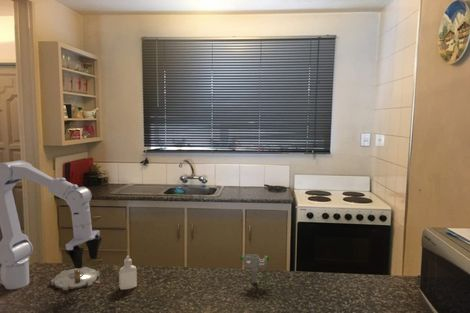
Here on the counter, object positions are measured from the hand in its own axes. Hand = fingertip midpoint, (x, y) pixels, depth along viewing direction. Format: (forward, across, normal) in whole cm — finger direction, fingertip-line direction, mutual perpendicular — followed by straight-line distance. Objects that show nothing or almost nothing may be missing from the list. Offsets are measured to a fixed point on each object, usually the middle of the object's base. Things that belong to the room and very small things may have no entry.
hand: (86, 263), depth 116 cm
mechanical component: (+15, +22, -52) cm, 59 cm away
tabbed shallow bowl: (+8, +5, +9) cm, 13 cm away
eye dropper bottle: (+11, +5, -12) cm, 17 cm away
